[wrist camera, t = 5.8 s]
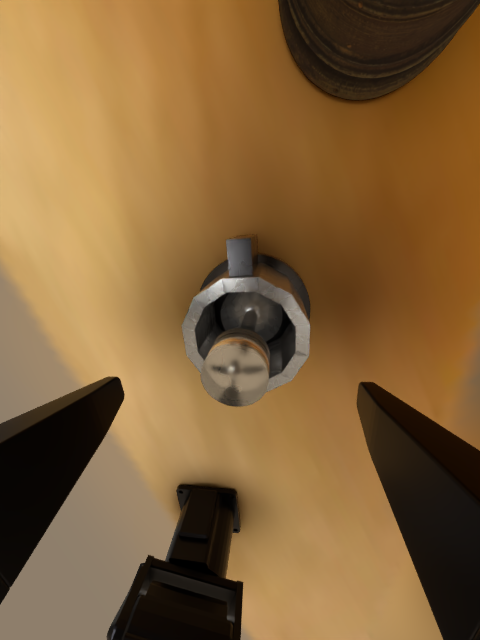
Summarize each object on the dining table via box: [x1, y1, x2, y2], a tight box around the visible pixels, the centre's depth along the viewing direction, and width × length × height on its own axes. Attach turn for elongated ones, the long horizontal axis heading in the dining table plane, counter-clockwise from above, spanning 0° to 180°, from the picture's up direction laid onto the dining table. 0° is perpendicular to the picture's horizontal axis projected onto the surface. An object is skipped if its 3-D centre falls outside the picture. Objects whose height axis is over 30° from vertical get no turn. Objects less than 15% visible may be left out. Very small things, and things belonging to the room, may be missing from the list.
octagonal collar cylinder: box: [182, 234, 310, 393], centre depth 15 cm, size 9×8×5 cm
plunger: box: [201, 291, 282, 407], centre depth 14 cm, size 4×4×8 cm
